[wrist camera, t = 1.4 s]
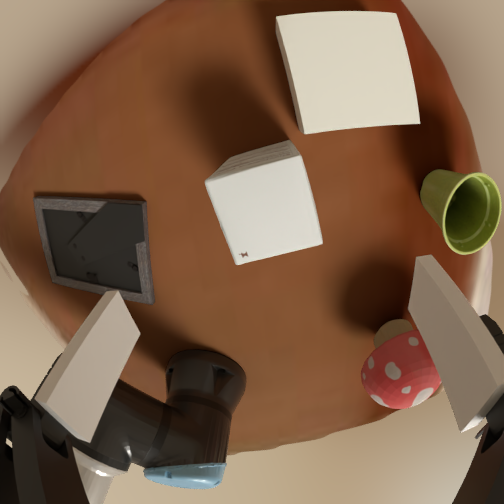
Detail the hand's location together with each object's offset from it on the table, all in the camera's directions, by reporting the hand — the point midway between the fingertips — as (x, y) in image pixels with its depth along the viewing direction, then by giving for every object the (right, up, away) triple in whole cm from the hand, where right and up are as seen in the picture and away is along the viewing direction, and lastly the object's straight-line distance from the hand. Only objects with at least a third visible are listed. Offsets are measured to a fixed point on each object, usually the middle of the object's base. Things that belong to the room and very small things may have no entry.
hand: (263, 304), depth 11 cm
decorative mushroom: (+22, -10, +29) cm, 38 cm away
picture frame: (-25, +3, +27) cm, 37 cm away
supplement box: (+1, +11, +20) cm, 23 cm away
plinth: (+9, +22, +14) cm, 27 cm away
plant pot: (+24, +10, +19) cm, 32 cm away
